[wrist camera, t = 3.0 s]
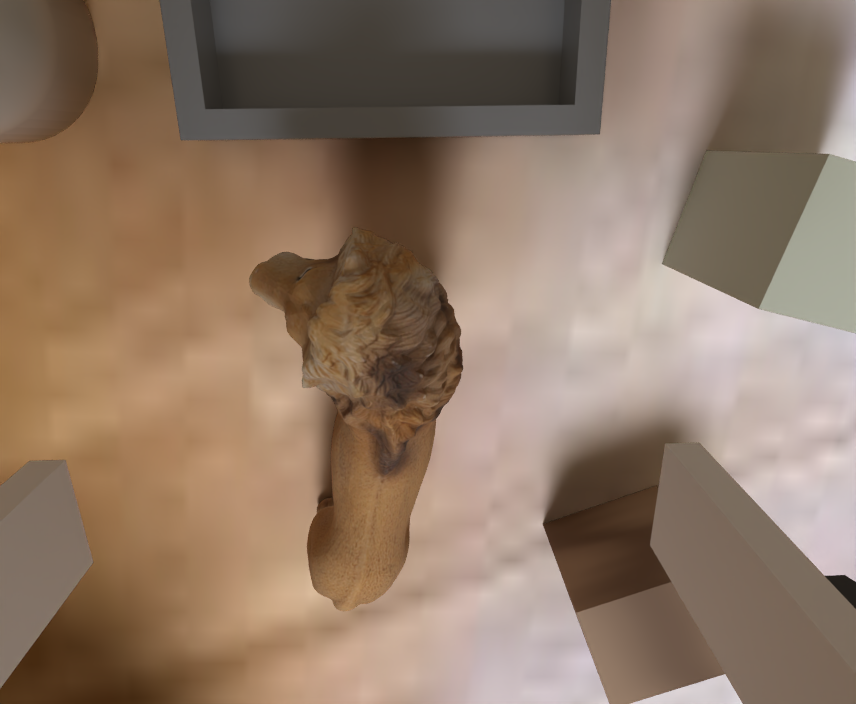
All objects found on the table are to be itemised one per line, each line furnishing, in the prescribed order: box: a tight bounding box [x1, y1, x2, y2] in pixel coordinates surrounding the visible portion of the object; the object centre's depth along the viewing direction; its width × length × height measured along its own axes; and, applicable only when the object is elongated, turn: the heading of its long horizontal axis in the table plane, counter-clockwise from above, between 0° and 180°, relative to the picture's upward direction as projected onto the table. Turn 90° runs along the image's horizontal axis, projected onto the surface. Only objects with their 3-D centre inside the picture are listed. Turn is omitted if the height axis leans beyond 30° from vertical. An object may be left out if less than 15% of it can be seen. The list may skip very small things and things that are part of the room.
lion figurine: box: [249, 227, 463, 611], centre depth 18 cm, size 15×5×9 cm, turn 0°
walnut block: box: [543, 486, 725, 704], centre depth 23 cm, size 5×5×5 cm
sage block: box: [662, 151, 856, 333], centre depth 18 cm, size 4×4×6 cm
